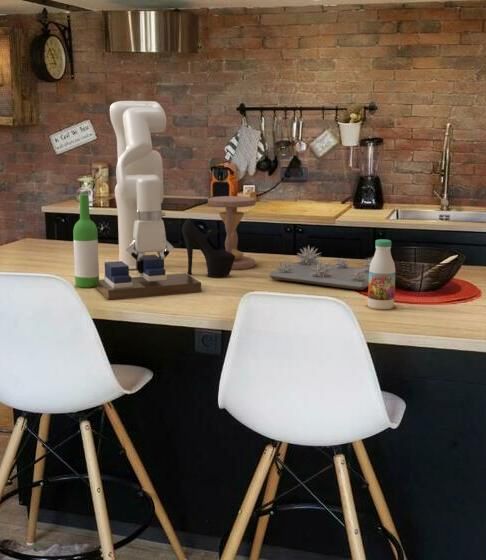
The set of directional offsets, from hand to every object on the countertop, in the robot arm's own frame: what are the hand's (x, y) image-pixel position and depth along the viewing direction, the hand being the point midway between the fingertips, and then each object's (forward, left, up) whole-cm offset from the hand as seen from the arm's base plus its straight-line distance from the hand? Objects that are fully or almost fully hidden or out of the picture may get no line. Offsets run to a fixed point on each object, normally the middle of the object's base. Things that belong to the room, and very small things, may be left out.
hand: (150, 271), depth 254 cm
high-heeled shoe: (-14, +25, -6) cm, 29 cm away
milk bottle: (+47, +57, -6) cm, 74 cm away
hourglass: (-28, +39, -6) cm, 48 cm away
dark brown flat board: (+1, -1, -6) cm, 6 cm away
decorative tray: (+8, +61, -6) cm, 62 cm away
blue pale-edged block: (+1, 0, -1) cm, 2 cm away
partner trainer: (+1, -11, -3) cm, 11 cm away
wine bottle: (-13, -18, -6) cm, 23 cm away
